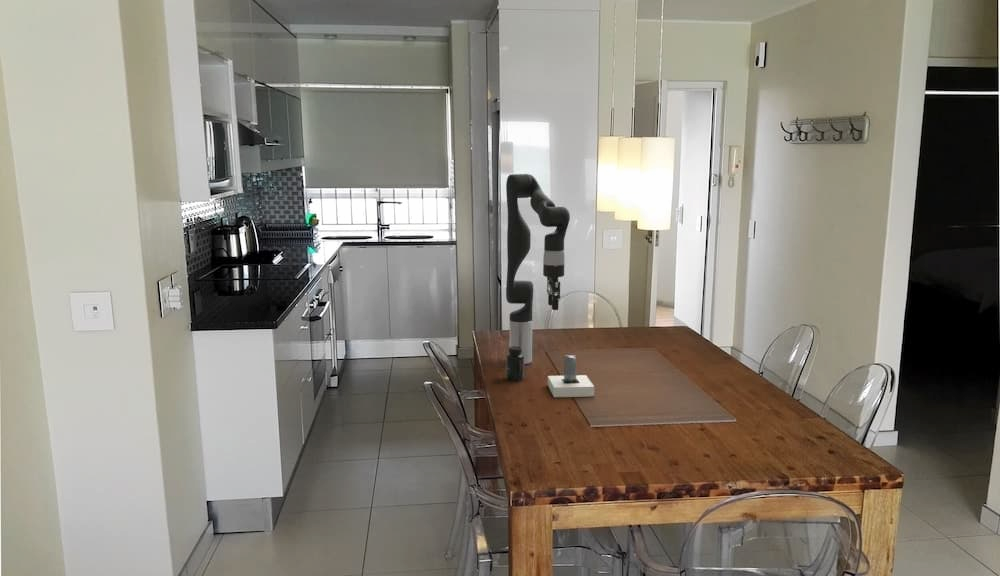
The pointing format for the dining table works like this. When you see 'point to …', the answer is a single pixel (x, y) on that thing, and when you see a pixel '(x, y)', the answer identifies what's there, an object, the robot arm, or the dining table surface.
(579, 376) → the socket block
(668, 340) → the dining table surface
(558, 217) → the robot arm
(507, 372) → the supplement bottle
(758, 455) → the dining table surface
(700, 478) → the dining table surface
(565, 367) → the graphite peg
